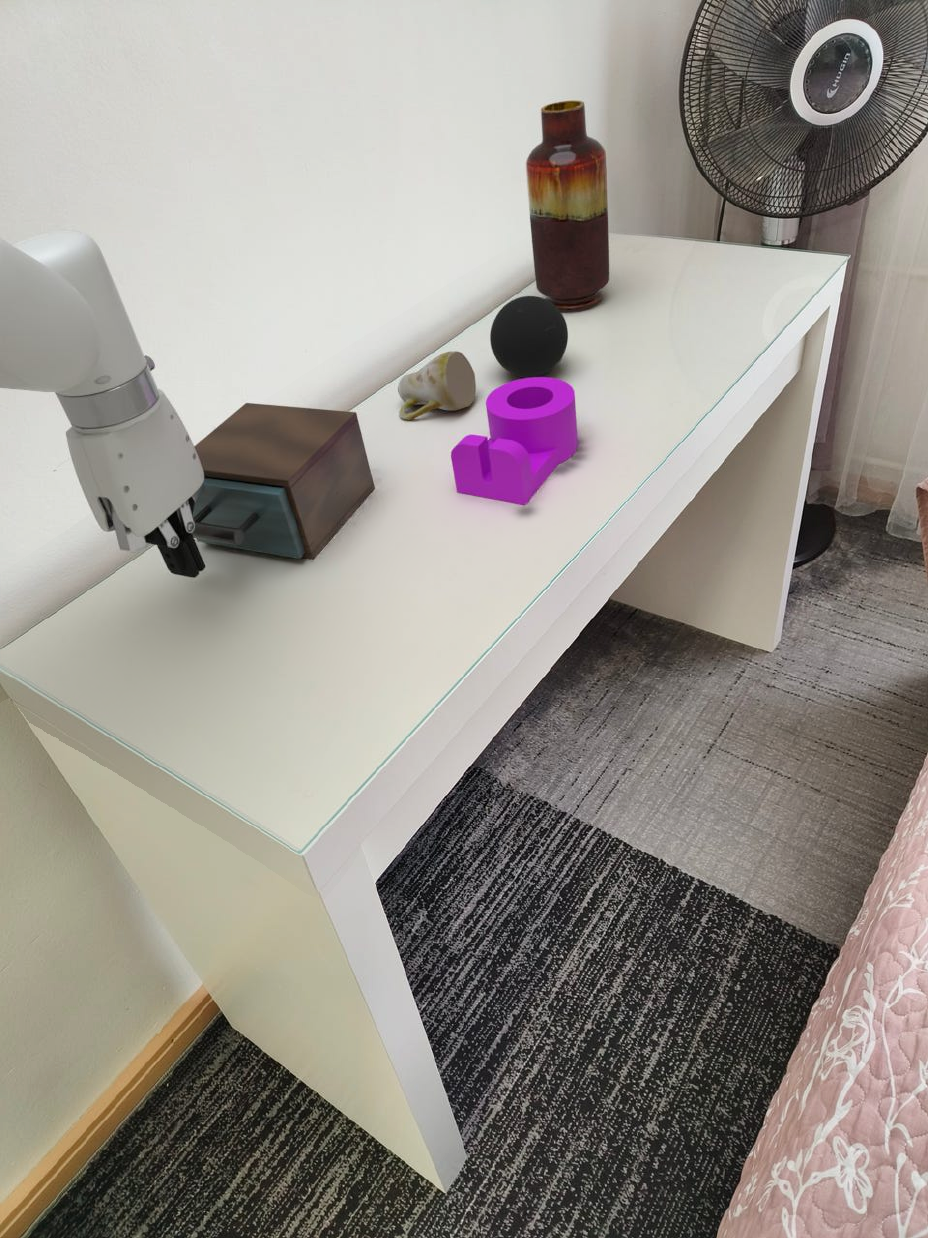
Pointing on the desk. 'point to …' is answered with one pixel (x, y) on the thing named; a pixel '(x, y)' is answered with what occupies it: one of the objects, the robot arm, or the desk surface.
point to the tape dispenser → (518, 440)
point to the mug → (438, 385)
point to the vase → (568, 210)
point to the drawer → (246, 518)
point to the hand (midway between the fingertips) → (188, 570)
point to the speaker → (529, 336)
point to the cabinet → (295, 462)
